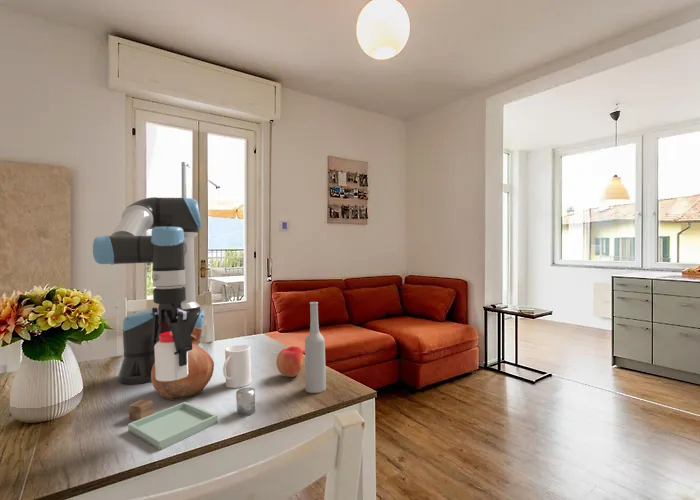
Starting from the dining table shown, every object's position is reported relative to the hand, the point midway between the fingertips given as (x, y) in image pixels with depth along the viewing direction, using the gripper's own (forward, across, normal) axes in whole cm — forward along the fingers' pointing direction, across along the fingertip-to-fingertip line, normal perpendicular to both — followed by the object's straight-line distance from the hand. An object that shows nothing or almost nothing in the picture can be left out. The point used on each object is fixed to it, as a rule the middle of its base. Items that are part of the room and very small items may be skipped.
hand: (172, 374), depth 96 cm
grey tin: (+14, +9, +16) cm, 23 cm away
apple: (+14, 0, +43) cm, 45 cm away
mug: (+14, -10, +27) cm, 32 cm away
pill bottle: (0, 0, 0) cm, 0 cm away
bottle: (+14, +15, +39) cm, 44 cm away
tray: (+14, 0, 0) cm, 14 cm away
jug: (+14, -19, +14) cm, 28 cm away
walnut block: (+14, -13, -2) cm, 19 cm away
